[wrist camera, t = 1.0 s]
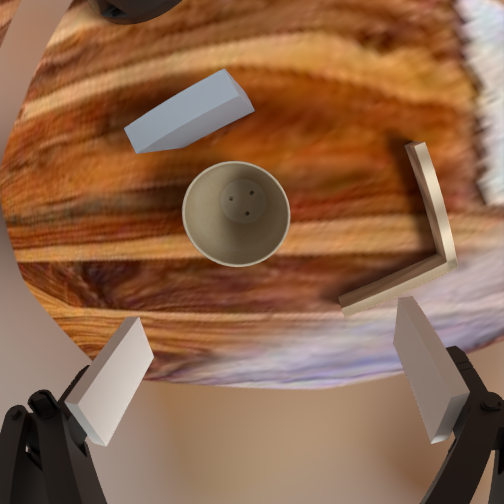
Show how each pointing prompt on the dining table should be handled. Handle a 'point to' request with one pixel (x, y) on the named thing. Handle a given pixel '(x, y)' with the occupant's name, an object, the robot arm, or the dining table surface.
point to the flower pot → (236, 213)
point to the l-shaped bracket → (420, 270)
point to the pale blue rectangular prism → (190, 114)
